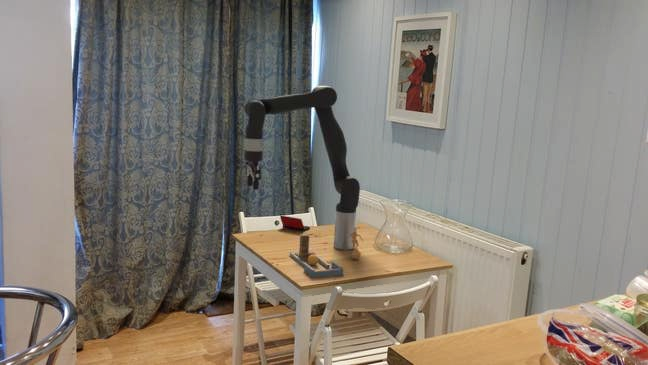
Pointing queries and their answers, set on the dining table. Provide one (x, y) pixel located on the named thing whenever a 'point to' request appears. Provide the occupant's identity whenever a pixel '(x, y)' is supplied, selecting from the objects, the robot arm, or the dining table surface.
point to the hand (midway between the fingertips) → (252, 187)
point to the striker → (304, 248)
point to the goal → (324, 271)
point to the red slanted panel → (293, 223)
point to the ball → (313, 259)
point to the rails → (305, 263)
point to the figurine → (355, 254)
